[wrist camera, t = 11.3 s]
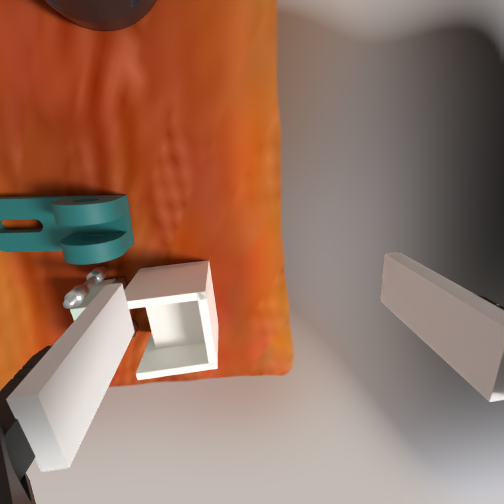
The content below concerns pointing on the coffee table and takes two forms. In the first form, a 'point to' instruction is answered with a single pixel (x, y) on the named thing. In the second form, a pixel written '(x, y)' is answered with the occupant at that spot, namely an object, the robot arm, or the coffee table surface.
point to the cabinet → (176, 318)
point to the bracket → (69, 226)
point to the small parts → (82, 290)
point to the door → (90, 297)
